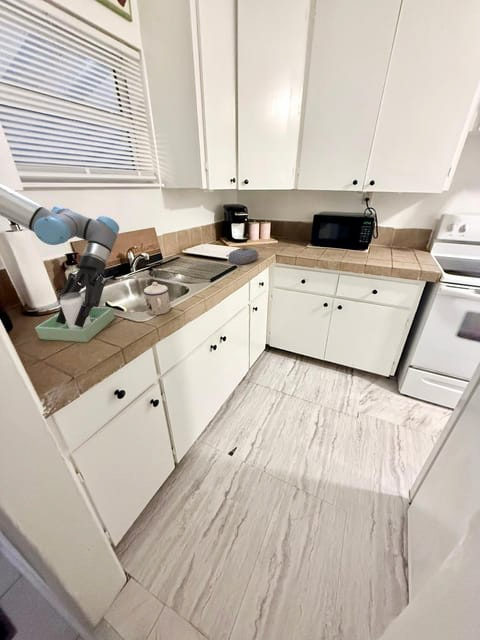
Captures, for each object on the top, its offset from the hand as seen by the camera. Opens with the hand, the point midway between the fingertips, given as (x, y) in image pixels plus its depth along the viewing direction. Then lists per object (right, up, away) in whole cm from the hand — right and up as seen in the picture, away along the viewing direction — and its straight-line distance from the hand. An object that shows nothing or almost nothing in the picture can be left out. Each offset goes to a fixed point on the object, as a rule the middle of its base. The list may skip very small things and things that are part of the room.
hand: (69, 324), depth 82 cm
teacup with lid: (+22, +5, +21) cm, 31 cm away
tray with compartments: (-3, -1, +10) cm, 10 cm away
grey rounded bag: (+57, +40, +87) cm, 111 cm away
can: (+1, -2, +5) cm, 5 cm away
